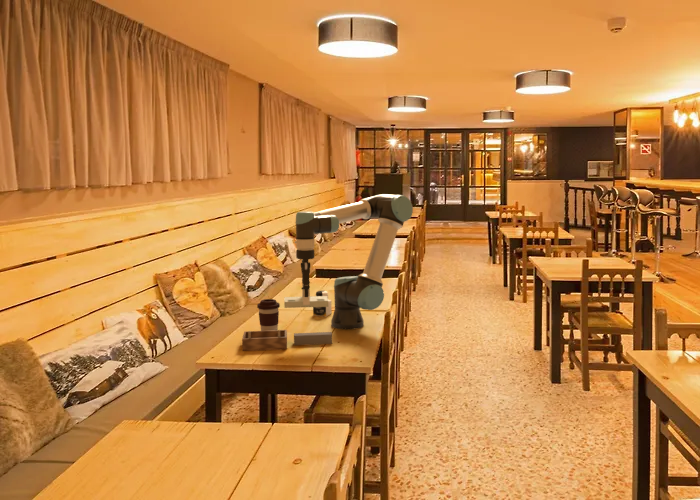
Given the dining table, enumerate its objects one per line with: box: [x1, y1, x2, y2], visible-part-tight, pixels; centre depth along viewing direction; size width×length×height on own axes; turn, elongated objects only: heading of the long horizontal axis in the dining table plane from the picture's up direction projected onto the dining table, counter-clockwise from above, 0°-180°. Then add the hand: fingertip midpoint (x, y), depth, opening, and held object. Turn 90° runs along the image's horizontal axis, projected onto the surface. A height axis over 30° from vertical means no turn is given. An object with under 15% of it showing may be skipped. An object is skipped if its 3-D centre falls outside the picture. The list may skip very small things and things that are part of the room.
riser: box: [293, 331, 333, 346], centre depth 271 cm, size 16×4×4 cm, turn 95°
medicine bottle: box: [312, 290, 333, 318], centre depth 321 cm, size 7×7×12 cm
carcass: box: [241, 329, 288, 352], centre depth 268 cm, size 18×12×8 cm
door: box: [283, 295, 329, 309], centre depth 268 cm, size 18×10×4 cm, turn 96°
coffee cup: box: [256, 298, 281, 331], centre depth 288 cm, size 10×10×15 cm
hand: (306, 301), depth 268 cm, fingers closed on door, 10 cm apart
